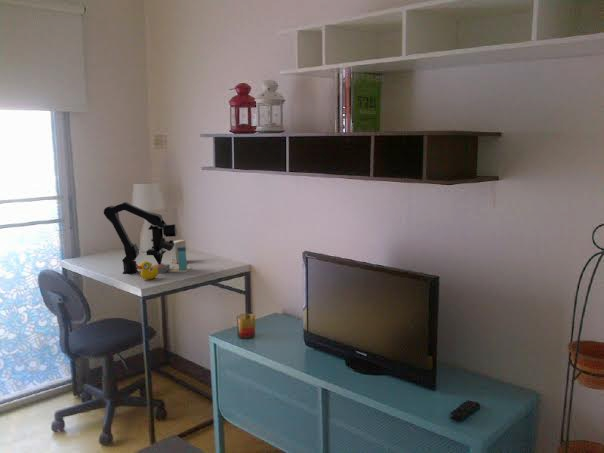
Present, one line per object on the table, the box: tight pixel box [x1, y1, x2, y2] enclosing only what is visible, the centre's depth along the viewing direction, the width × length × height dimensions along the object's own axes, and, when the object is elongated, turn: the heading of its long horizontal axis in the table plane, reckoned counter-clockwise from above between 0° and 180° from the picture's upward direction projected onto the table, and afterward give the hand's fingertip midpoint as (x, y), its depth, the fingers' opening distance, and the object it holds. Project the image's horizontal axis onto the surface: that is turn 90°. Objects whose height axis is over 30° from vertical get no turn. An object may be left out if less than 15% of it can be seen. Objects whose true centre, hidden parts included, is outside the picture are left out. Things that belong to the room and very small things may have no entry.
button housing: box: [149, 263, 171, 274], centre depth 311 cm, size 8×8×3 cm
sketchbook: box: [167, 266, 193, 273], centre depth 313 cm, size 11×10×1 cm
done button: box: [155, 262, 165, 267], centre depth 311 cm, size 4×4×3 cm
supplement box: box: [170, 239, 187, 265], centre depth 331 cm, size 8×5×13 cm, turn 145°
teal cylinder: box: [178, 246, 188, 270], centre depth 312 cm, size 4×4×13 cm
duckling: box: [136, 260, 159, 281], centre depth 293 cm, size 11×5×10 cm, turn 123°
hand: (159, 264), depth 311 cm, fingers closed, pressing on done button
